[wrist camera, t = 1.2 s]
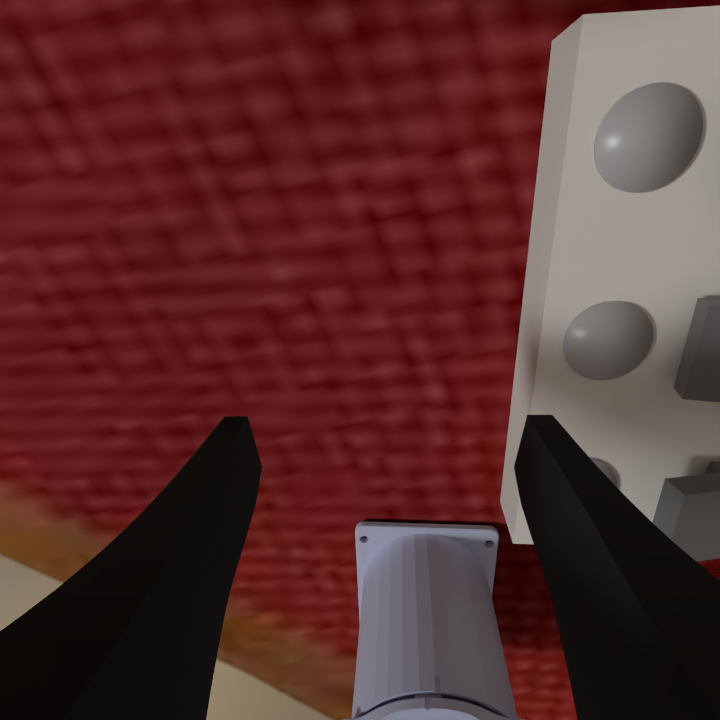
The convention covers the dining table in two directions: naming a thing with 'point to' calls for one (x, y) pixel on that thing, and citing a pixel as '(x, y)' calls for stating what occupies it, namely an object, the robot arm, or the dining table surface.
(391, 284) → the dining table surface
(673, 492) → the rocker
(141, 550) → the robot arm
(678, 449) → the power strip
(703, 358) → the middle rocker
